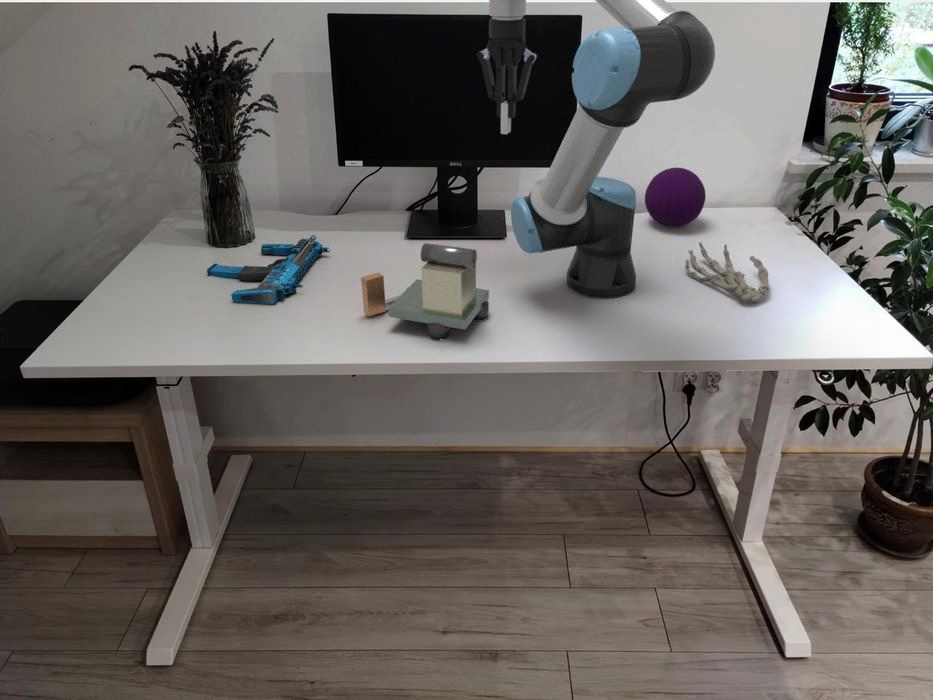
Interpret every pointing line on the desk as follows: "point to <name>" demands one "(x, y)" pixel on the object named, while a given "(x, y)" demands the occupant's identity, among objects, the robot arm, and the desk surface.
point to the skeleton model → (731, 277)
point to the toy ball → (675, 197)
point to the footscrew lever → (375, 294)
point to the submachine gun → (273, 271)
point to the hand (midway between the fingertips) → (505, 132)
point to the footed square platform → (444, 292)
